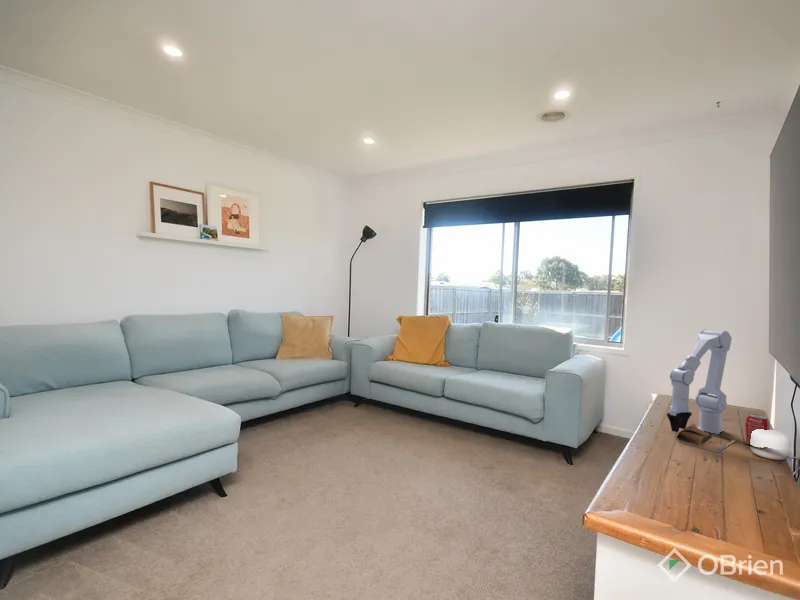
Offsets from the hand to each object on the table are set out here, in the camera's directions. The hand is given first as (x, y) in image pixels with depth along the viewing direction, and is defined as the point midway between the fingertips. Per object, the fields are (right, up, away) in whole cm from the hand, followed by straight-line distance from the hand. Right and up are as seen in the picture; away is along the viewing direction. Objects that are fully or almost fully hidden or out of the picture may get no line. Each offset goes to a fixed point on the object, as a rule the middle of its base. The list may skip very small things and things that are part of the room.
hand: (678, 429), depth 170 cm
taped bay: (+6, -2, -8) cm, 10 cm away
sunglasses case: (+4, -3, -4) cm, 6 cm away
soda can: (+23, -3, -11) cm, 26 cm away
